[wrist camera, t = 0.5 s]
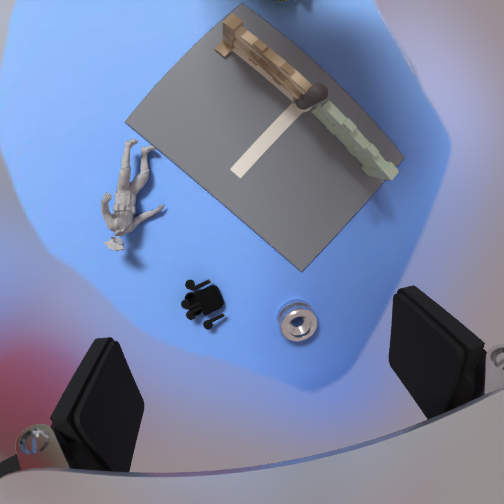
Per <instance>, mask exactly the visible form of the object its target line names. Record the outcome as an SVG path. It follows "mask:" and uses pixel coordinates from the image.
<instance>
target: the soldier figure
mask: <svg viewBox="0 0 504 504" xmlns="http://www.w3.org/2000/svg"><path fill="white" fill-rule="evenodd" d="M137 142H138V141H137V140H135V139H131V140H130V141H126V142H125V150H124V154H123V158H122V164H121V166H122V167H121V169H120V173H119V179H118V184H117V191H116V192H115V203H114V207H113V211H114V212H113V214H111V213H110V211H109V206H108V202H109V201H110V200H111V198H112V196H111V195H110V193H107V192H106V193H105V195H104V197H103V200H102V202H101V203H102V205H101V211H102V214H103V217H104V219H105V222H106V224H107V227H108V229H110V230H111V231H113V232H114V234H115V236H124V235H125V234H126V233H131V232H132V231H133V230H134V229H135V228H136V226H137V225H138V224H139V223H140V222H142V221H144V220H146V219H147V218H149V217H151V216H153V215H155V214H156V213H158V212H159V211H161V210H162V209H163V208H164V205H163V204H162V205H163V206H162V205H161V207H160V205H159V207H158V208H157V209H155V210H154V211H153V210H150V211H148V212H144V213H142V214H140V215H137V216H136V217H135V218H133V215H135V211H136V207H135V204H136V195H137V194H138V192H139V191H140V190H141V189H142V188H143V187H144V185H145V183H146V182H147V180H148V178H149V171H150V169H149V166H148V156H147V153H149V152H150V151H152V150H155V147H154V146H151V145H149V146H148V147H141V153H142V155H141V166H140V169H141V171H140V174H138V175H137V176H136V177H135V178H134V179H133V180H132V182H130V181H129V180H130V174H131V168H130V164H129V163H130V149H131V147H132V146H133V145H135V144H137ZM108 194H109V195H110V196H109V195H108ZM107 195H108V196H107ZM108 197H109V198H108ZM110 197H111V198H110ZM112 236H113V235H112ZM104 243H105V244H106V246H107V247H109V248H110V249H112V250H116V251H119V250H125V248H124V244H123V242H122V240H121V239H120V238H117V237H111V240H110V241H108V242H104Z"/></svg>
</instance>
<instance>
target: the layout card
mask: <svg viewBox="0 0 504 504" xmlns="http://www.w3.org/2000/svg"><path fill="white" fill-rule="evenodd" d="M232 13H233V14H234V15H235V16H237V17H238V18H240V19H241V20H242V21H243V26H242V27H244V28H245V29H246V30H248V31H249V32H250V33H252V34H253V35H254V36H256V37H257V38H258V39H259V40H261V41H262V42H263V43H265V44H266V45H267V46H268V47H269V48H271V49H272V50H273V51H274V52H275V53H277V54H278V55H279V56H280V57H281V58H283V59H284V60H285V61H286V62H287V63H289V64H290V65H291V66H292V67H293V68H294V69H295V70H296V71H298V72H299V73H300V74H301V75H302V76H303V77H304V78H305V79H306V80H307V81H309V82H310V83H311V84H312V85H314V84H316V83H320V84H323V85H324V86H326V88H327V89H328V97H327V98H326V99H325V100H323V101H321V102H319V103H317V104H315V105H313V106H311V107H309V108H307V109H305V110H302V109H299V108H298V107H297V106H296V104H295V100H296V98H295V97H294V96H293V95H292V94H291V93H290V92H289V91H287V90H286V89H285V88H284V87H283V86H282V85H278V84H277V83H276V82H275V81H274V80H273V77H272V76H270V75H269V74H268V73H267V72H266V71H264V70H263V69H262V68H261V67H260V66H258V65H257V66H256V65H255V64H254V63H252V62H251V61H250V60H249V57H247V56H246V55H245V54H244V53H242V52H241V51H240V50H238V49H237V48H236V47H235V48H234V49H233V50H232V51H231V52H230V53H229V54H228V55H227V56H226V57H224V56H222V55H221V54H220V53H218V52H217V51H216V50H214V48H215V47H216V46H217V45H218V44H220V43H221V42H222V41H223V21H224V20H225V19H227V18H228V17H229V16H230V15H231V14H232ZM327 100H329V101H330V102H332V103H333V104H334V105H335V106H336V107H337V108H338V109H339V111H340V112H341V113H342V114H343V115H344V116H345V117H346V118H347V119H348V118H349V119H350V120H351V121H352V122H353V123H354V124H355V125H356V126H357V129H358V130H359V131H360V133H361V134H362V135H363V136H364V137H365V138H366V139H367V140H368V141H369V142H370V143H372V144H373V145H374V146H375V147H376V148H377V150H378V151H379V154H380V155H381V156H382V157H383V158H384V160H385V161H387V162H392V163H393V164H394V166H395V167H397V166H398V165H399V164H400V163H401V162H402V160H403V159H404V158H405V157H404V156H403V155H402V154H401V152H400V151H399V150H398V149H397V148H396V146H395V145H394V144H393V143H392V141H391V140H390V139H389V138H388V137H387V136H386V134H385V133H384V132H383V131H382V130H381V129H380V127H379V126H378V125H377V124H376V123H375V122H374V121H373V120H372V119H371V117H370V116H369V115H368V114H367V113H366V112H365V111H364V110H363V109H362V108H361V107H360V105H359V104H358V103H357V102H356V101H355V100H354V99H353V98H352V97H351V96H350V95H349V94H348V93H347V92H346V91H345V90H344V89H343V88H342V87H341V86H340V85H339V84H338V83H337V82H336V81H335V80H334V79H333V78H332V77H331V76H330V75H329V74H328V73H327V72H325V71H324V70H323V69H322V68H321V67H320V66H319V65H318V64H317V63H316V62H315V61H314V60H312V59H311V58H310V57H309V56H308V55H307V54H306V53H305V52H303V51H302V50H301V49H300V48H299V47H298V46H296V45H295V44H294V43H293V42H292V41H291V40H289V39H288V38H287V37H286V36H284V35H283V34H282V33H281V32H280V31H278V30H277V29H276V28H275V27H273V26H272V25H271V24H269V23H268V22H267V21H265V20H264V19H263V18H262V17H260V16H259V15H258V14H256V13H255V12H253V11H252V10H251V9H249V8H248V7H247V6H245V5H244V4H242V3H241V4H240V5H239V6H237V7H236V8H235V9H234V10H233V11H231V12H230V13H229V14H228V15H227V16H226V17H224V18H223V19H222V20H221V21H220V22H219V23H218V24H216V25H215V26H214V27H213V28H212V29H211V30H210V31H209V32H208V33H206V34H205V35H204V36H203V37H202V38H201V39H200V40H199V41H198V42H197V43H196V44H195V45H194V46H193V47H192V48H191V49H190V50H189V51H188V52H187V53H186V54H185V55H184V56H183V57H182V58H181V59H180V60H179V61H178V62H177V63H176V64H175V65H174V66H173V67H172V68H171V69H170V70H169V71H168V72H167V73H166V74H165V75H164V77H163V78H162V79H161V80H160V81H159V82H158V83H157V84H156V85H155V86H154V88H153V89H152V90H151V91H150V92H149V93H148V94H147V96H146V97H145V98H144V99H143V100H142V101H141V103H140V104H139V105H138V106H137V107H136V109H135V110H134V111H133V112H132V113H131V115H130V116H129V117H128V118H127V120H126V121H125V122H126V123H127V124H128V125H129V126H131V127H132V128H133V129H134V130H135V131H137V132H138V133H139V134H140V135H141V136H143V137H144V138H145V139H146V140H148V141H149V142H150V143H151V144H152V145H154V146H155V147H156V148H157V149H158V150H160V151H161V152H162V153H163V154H164V155H166V156H167V157H168V158H169V159H170V160H171V161H173V162H174V163H175V164H176V165H177V166H179V167H180V168H181V169H182V170H183V171H185V172H186V173H187V174H188V175H189V176H191V177H192V178H193V179H194V180H195V181H196V182H198V183H199V184H200V185H201V186H202V187H204V188H205V189H206V190H207V191H208V192H209V193H211V194H212V195H213V196H214V197H215V198H216V199H218V200H219V201H220V202H221V203H222V204H224V205H225V206H226V207H227V208H228V209H229V210H231V211H232V212H233V213H234V214H235V215H236V216H238V217H239V218H240V219H241V220H242V221H243V222H245V223H246V224H247V225H248V226H249V227H250V228H251V229H253V230H254V231H255V232H256V233H257V234H258V235H260V236H261V237H262V238H263V239H264V240H265V241H267V242H268V243H269V244H270V245H271V246H272V247H273V248H275V249H276V250H277V251H278V252H279V253H280V254H282V255H283V256H284V257H285V258H286V259H287V260H288V261H290V262H291V263H292V264H293V265H294V266H295V267H296V268H298V269H299V270H300V271H301V272H302V271H303V270H304V269H305V268H306V267H307V266H308V265H309V263H310V262H311V261H312V260H313V259H314V258H315V257H316V256H317V255H318V254H319V253H320V252H321V251H322V250H323V249H324V248H325V246H326V245H327V244H328V243H329V242H330V241H331V240H332V239H333V238H334V237H335V236H336V235H337V234H338V232H339V231H340V230H341V229H342V228H343V227H344V226H345V225H346V224H347V223H348V222H349V220H350V219H351V218H352V217H353V216H354V215H355V214H356V213H357V212H358V211H359V209H360V208H361V207H362V206H363V205H364V204H365V203H366V202H367V200H368V199H369V198H370V197H371V196H372V195H373V194H374V193H375V191H376V190H377V189H378V188H379V187H380V186H381V185H382V184H383V182H384V181H385V180H386V179H381V178H376V177H371V176H368V175H367V174H366V173H365V172H364V171H363V170H362V169H361V167H362V166H363V164H362V163H361V162H360V161H359V160H358V159H357V158H356V157H355V156H353V155H352V154H351V153H350V152H349V151H348V150H347V149H346V148H347V147H346V146H345V145H344V144H343V143H342V142H341V141H340V140H339V139H338V138H337V137H336V136H335V135H332V133H331V132H330V131H329V130H328V129H327V128H326V126H325V125H324V124H323V123H322V122H321V121H320V120H319V119H318V118H317V117H316V116H315V115H314V114H313V113H312V112H311V111H312V110H313V109H314V108H315V107H316V106H317V105H319V104H321V105H322V104H323V103H324V102H325V101H327Z"/></svg>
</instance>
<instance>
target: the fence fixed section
mask: <svg viewBox="0 0 504 504" xmlns="http://www.w3.org/2000/svg"><path fill="white" fill-rule="evenodd" d="M242 26H243V21H242V20H241V19H240V18H238V17H237V16H235V15H234V14H233V13H232V14H231V15H230V16H229V17H228V18H227V19H225V20H224V21H223V41H222V42H221V43H220V44H218V45H217V46H216V47H215V48H214V50H216V51H217V52H218V53H220V54H221V55H222V56H224V57H226V56H227V55H228V54H229V53H230V52H231V51H232V50H233V49H234V48H235V47H236V48H237V49H238V50H240V51H241V52H242V53H244V54H245V55H246V56H247V57H249V60H250V61H251V62H252V63H254V64H255V65H256V66H257V65H258V66H260V67H261V68H262V69H263V70H264V71H266V72H267V73H268V74H269V75H270V76H272V77H273V80H274V81H275V82H276V83H277V84H278V85H282V86H283V87H284V88H285V89H286V90H287V91H289V92H290V93H291V94H292V95H293V96H294V97H295V98H296V100H295V104H296V106H297V107H298V108H299V109H302V110H305V109H307V108H309V107H311V106H313V105H315V104H317V103H319V102H321V101H323V100H325V99H326V98H327V97H328V89H327V88H326V86H324V85H323V84H320V83H316V84H314V85H312V84H311V83H310V82H309V81H307V80H306V79H305V78H304V77H303V76H302V75H301V74H300V73H299V72H298V71H296V70H295V69H294V68H293V67H292V66H291V65H290V64H289V63H287V62H286V61H285V60H284V59H283V58H281V57H280V56H279V55H278V54H277V53H275V52H274V51H273V50H272V49H271V48H269V47H268V46H267V45H266V44H265V43H263V42H262V41H261V40H259V39H258V38H257V37H256V36H254V35H253V34H252V33H250V32H249V31H248V30H246V29H245V28H244V27H242Z"/></svg>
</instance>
